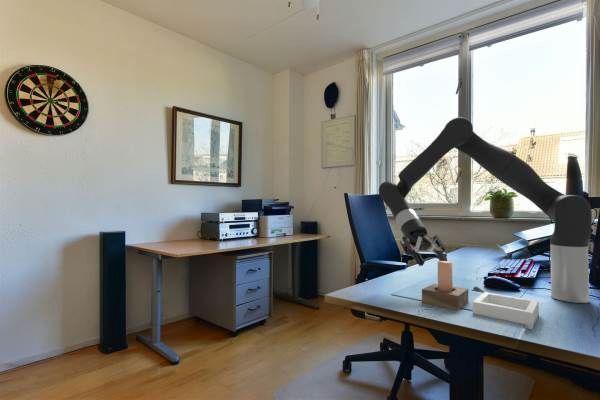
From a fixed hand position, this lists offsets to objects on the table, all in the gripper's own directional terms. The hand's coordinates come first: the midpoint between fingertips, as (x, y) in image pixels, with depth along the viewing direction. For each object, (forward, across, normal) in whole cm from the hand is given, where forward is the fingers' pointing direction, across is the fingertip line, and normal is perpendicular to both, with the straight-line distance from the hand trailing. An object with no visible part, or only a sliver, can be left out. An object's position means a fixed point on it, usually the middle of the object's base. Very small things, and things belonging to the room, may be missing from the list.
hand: (434, 263), depth 98 cm
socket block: (+12, 0, +5) cm, 13 cm away
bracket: (+6, +16, +12) cm, 20 cm away
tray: (+20, +9, -4) cm, 22 cm away
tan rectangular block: (+11, 0, +4) cm, 12 cm away
